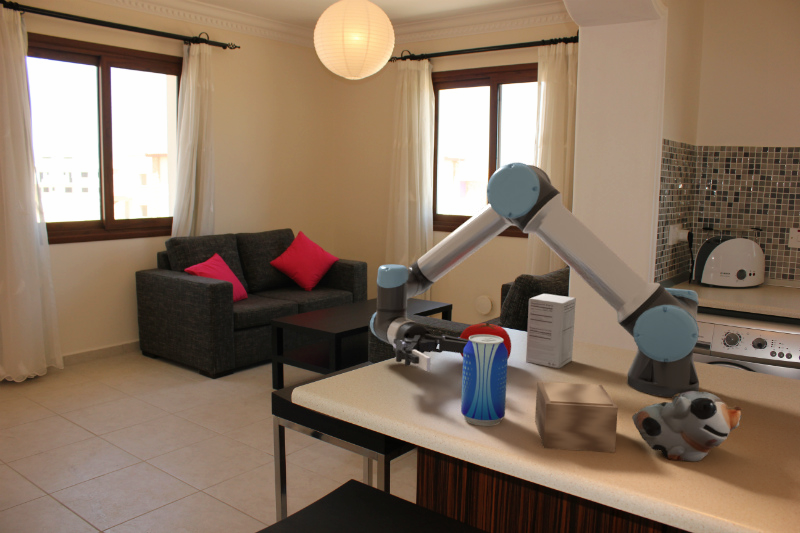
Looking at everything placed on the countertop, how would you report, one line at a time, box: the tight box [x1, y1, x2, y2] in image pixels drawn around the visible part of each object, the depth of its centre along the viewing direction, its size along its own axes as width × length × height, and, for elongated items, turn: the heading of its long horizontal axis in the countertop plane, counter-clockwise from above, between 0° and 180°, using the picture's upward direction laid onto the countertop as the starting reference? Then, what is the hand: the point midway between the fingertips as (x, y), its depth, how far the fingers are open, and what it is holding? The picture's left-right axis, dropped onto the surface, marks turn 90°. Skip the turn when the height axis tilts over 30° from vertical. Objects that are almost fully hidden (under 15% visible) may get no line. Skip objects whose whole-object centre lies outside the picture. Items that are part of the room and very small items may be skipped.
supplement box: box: [525, 293, 577, 369], centre depth 160 cm, size 10×9×17 cm
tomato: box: [458, 322, 512, 359], centre depth 155 cm, size 12×13×11 cm
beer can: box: [460, 334, 509, 427], centre depth 119 cm, size 8×8×16 cm
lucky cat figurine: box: [632, 391, 743, 462], centre depth 107 cm, size 15×12×14 cm
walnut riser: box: [534, 381, 619, 453], centre depth 112 cm, size 12×12×8 cm
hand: (457, 360), depth 127 cm, fingers open, 13 cm apart
